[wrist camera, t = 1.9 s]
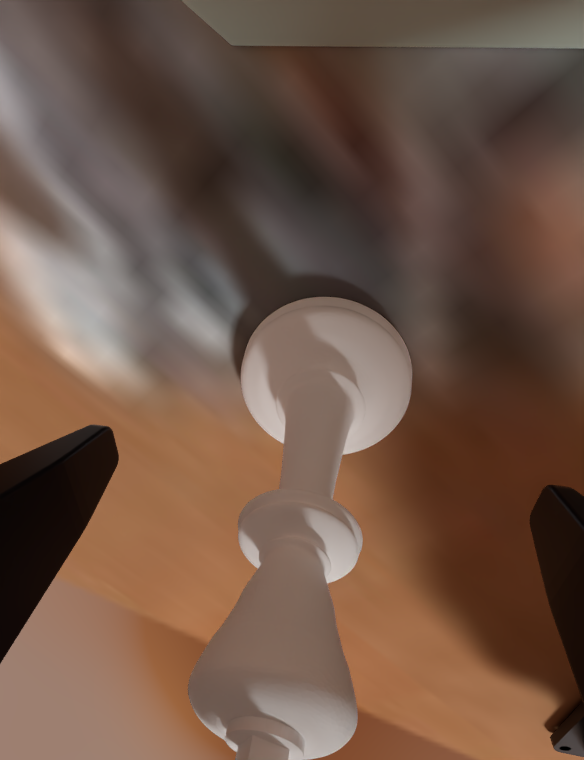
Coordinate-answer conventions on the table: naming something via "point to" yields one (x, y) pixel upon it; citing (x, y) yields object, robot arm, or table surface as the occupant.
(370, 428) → the chess piece
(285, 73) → the table surface
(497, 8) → the sage slab
